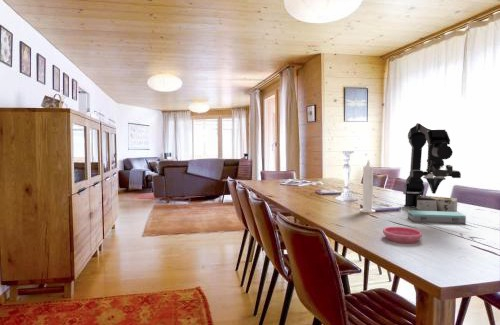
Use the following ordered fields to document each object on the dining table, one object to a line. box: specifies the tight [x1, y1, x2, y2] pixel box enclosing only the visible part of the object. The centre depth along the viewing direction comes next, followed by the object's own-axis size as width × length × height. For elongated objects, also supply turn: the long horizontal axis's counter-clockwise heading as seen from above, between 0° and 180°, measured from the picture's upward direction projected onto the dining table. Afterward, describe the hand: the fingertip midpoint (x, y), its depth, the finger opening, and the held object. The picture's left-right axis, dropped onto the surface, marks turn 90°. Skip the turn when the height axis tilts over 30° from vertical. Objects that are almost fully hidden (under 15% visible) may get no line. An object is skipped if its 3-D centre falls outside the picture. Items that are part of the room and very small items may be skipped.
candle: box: [359, 159, 376, 214], centre depth 161 cm, size 7×7×25 cm
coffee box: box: [416, 194, 458, 212], centre depth 163 cm, size 9×6×16 cm
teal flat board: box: [407, 212, 467, 225], centre depth 142 cm, size 9×20×2 cm, turn 80°
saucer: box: [382, 226, 423, 244], centre depth 116 cm, size 12×12×3 cm
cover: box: [407, 209, 467, 219], centre depth 142 cm, size 8×20×1 cm, turn 80°
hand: (433, 193), depth 145 cm, fingers closed
